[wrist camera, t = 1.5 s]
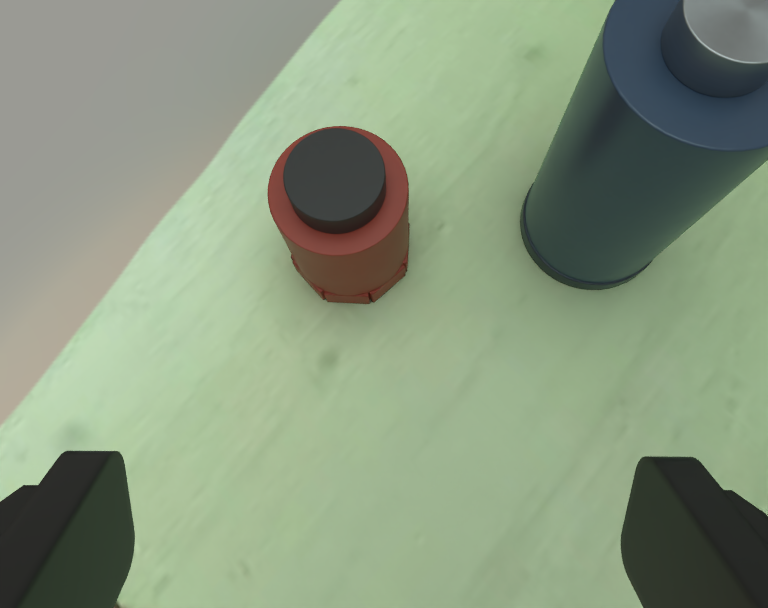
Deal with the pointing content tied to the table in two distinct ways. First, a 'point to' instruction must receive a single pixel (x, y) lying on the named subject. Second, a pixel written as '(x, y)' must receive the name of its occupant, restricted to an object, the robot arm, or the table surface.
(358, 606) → the table surface
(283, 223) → the lid
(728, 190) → the flask
